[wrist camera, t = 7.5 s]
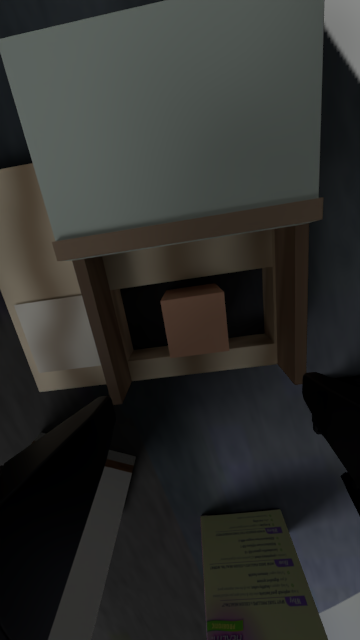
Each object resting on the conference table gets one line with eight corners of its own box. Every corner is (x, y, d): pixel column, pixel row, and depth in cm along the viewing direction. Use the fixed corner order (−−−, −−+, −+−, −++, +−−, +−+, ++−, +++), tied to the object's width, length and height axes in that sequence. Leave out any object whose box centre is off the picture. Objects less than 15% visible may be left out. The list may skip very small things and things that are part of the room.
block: (214, 282, 20) (223, 291, 15) (219, 329, 21) (229, 350, 16) (166, 290, 20) (160, 301, 15) (173, 335, 21) (170, 358, 17)
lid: (305, 4, 10) (331, -51, 8) (302, 224, 13) (322, 219, 11) (21, 67, 11) (-12, 30, 9) (74, 260, 14) (57, 261, 12)
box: (205, 543, 30) (217, 716, 19) (199, 514, 29) (208, 685, 17) (282, 536, 29) (342, 713, 18) (280, 507, 28) (344, 679, 17)
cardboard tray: (270, 135, 17) (311, 76, 11) (275, 350, 22) (305, 383, 16) (-13, 187, 18) (-99, 158, 13) (54, 377, 23) (14, 415, 18)
